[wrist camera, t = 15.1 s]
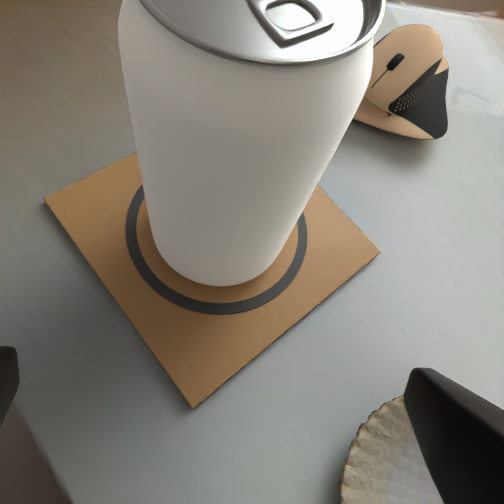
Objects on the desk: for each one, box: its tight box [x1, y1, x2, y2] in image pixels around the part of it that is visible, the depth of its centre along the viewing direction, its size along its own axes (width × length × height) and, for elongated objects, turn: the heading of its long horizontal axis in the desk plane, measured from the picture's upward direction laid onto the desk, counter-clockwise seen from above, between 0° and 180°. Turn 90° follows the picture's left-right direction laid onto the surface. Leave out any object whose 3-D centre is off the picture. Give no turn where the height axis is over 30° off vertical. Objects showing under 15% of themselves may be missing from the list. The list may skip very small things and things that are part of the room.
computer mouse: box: [353, 24, 449, 140], centre depth 24 cm, size 6×10×4 cm, turn 137°
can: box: [118, 0, 385, 286], centre depth 14 cm, size 6×6×12 cm
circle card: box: [44, 152, 381, 409], centre depth 19 cm, size 12×12×1 cm
